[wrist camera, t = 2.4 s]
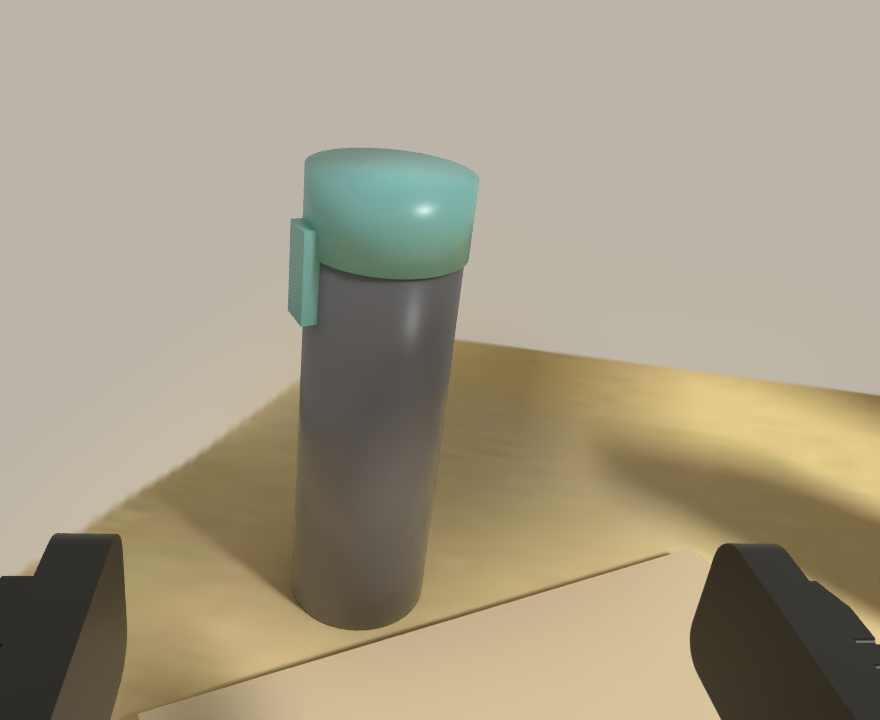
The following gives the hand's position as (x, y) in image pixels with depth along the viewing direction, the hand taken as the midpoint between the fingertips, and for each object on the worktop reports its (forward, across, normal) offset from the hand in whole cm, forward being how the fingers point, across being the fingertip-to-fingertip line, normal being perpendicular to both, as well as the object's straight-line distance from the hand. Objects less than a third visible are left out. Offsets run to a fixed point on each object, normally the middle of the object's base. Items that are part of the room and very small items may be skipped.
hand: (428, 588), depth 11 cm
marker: (+12, 0, +10) cm, 15 cm away
